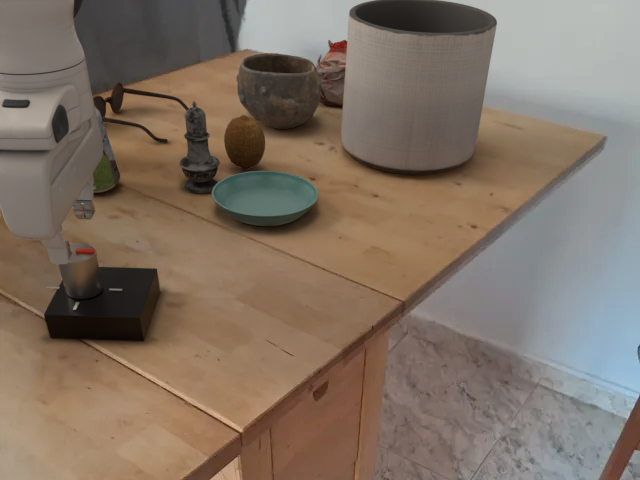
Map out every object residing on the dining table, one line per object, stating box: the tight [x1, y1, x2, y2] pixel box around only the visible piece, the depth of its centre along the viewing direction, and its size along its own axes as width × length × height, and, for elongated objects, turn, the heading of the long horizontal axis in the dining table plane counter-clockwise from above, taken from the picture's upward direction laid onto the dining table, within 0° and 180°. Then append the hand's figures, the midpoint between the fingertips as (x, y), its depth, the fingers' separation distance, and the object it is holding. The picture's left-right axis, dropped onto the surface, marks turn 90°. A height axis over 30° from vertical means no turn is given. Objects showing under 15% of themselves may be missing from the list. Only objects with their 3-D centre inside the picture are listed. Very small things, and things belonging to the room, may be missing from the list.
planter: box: [340, 0, 498, 176], centre depth 107 cm, size 22×22×20 cm
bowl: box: [236, 52, 322, 130], centre depth 118 cm, size 14×15×10 cm
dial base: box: [43, 266, 161, 342], centre depth 76 cm, size 11×10×3 cm
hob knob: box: [57, 242, 103, 299], centre depth 73 cm, size 4×4×5 cm
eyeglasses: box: [93, 81, 190, 144], centre depth 118 cm, size 15×15×5 cm
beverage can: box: [93, 106, 121, 194], centre depth 96 cm, size 6×7×12 cm
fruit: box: [223, 114, 266, 170], centre depth 104 cm, size 6×6×8 cm
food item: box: [315, 39, 347, 108], centre depth 130 cm, size 14×8×10 cm, turn 169°
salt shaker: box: [178, 100, 221, 195], centre depth 98 cm, size 6×6×12 cm
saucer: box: [211, 170, 319, 227], centre depth 96 cm, size 15×15×3 cm
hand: (74, 237), depth 71 cm, fingers open, 8 cm apart
